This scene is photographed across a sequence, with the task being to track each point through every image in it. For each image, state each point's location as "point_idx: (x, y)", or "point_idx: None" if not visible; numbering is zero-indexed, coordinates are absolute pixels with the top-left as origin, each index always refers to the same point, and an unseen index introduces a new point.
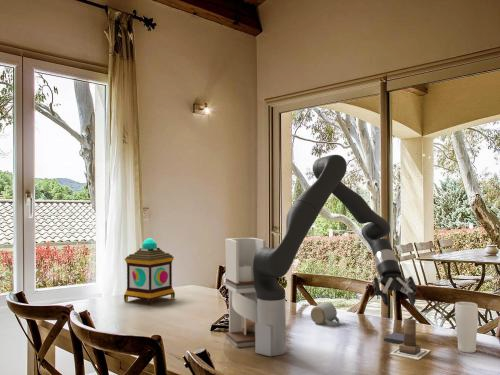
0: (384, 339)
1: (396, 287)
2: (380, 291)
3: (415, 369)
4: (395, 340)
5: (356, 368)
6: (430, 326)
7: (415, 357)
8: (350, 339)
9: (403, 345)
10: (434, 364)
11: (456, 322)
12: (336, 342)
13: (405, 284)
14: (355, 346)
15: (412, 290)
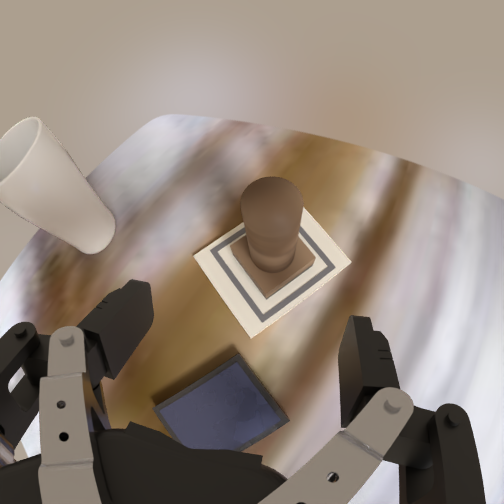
0: (287, 417)
1: (181, 449)
2: (422, 425)
3: (333, 144)
4: (258, 381)
5: (462, 191)
6: None
7: None
8: None
9: (302, 249)
10: (263, 158)
11: (72, 194)
12: None
13: (51, 398)
14: (422, 372)
15: (52, 338)
